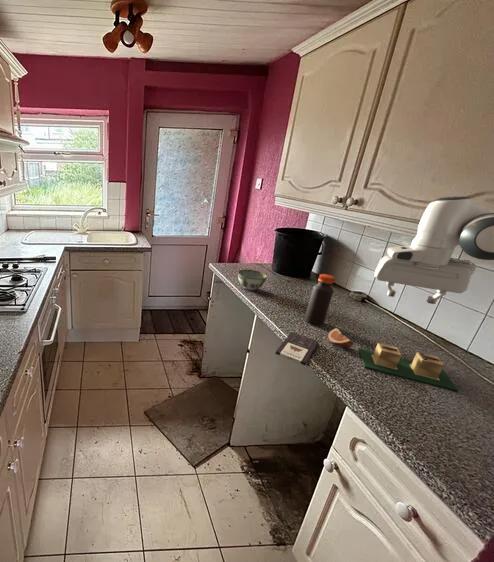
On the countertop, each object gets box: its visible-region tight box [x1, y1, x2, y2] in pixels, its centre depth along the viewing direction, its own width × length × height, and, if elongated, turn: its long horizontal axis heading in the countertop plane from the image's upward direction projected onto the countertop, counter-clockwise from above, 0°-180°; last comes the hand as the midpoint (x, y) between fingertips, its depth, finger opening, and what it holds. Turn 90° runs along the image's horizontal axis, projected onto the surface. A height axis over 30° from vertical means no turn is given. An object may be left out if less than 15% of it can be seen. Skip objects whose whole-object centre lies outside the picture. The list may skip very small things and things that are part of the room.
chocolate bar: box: [274, 331, 319, 366], centre depth 108 cm, size 9×1×18 cm
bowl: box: [237, 269, 268, 292], centre depth 157 cm, size 14×14×8 cm
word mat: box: [357, 347, 459, 392], centre depth 99 cm, size 22×12×1 cm, turn 62°
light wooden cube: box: [373, 342, 402, 368], centre depth 100 cm, size 5×5×5 cm
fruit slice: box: [327, 327, 354, 348], centre depth 110 cm, size 8×7×5 cm
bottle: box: [304, 273, 335, 327], centre depth 123 cm, size 7×7×20 cm
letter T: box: [411, 351, 445, 379], centre depth 96 cm, size 5×5×5 cm
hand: (409, 299), depth 93 cm, fingers open, 8 cm apart
